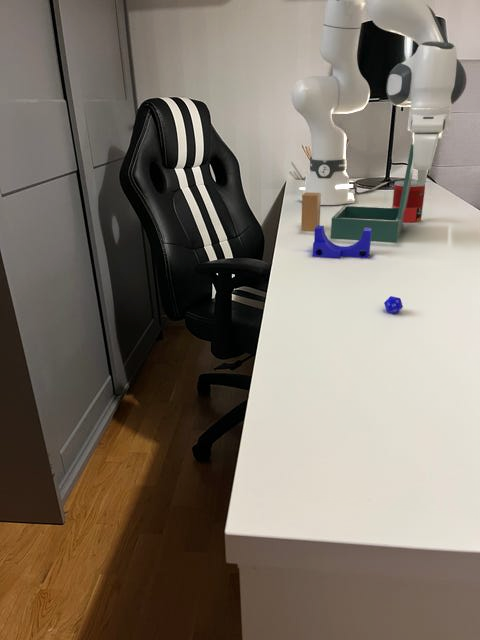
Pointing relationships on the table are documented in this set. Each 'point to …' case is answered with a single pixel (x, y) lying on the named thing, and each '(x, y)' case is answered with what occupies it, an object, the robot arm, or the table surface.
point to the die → (393, 304)
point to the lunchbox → (367, 223)
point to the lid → (406, 184)
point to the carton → (310, 211)
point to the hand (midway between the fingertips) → (421, 185)
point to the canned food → (410, 201)
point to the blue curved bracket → (338, 251)
